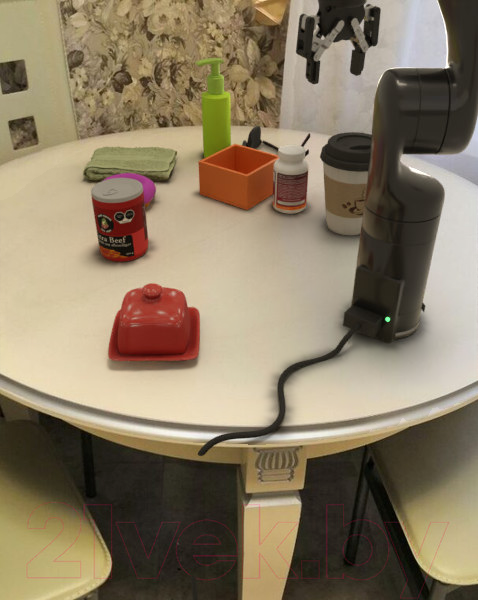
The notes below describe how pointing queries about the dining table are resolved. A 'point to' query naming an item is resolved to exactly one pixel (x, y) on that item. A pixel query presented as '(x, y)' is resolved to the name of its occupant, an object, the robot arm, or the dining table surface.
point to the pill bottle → (290, 179)
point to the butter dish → (155, 326)
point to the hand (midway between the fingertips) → (334, 78)
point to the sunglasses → (255, 140)
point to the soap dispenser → (215, 110)
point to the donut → (147, 184)
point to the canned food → (120, 218)
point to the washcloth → (131, 162)
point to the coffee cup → (346, 180)
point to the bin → (237, 176)
